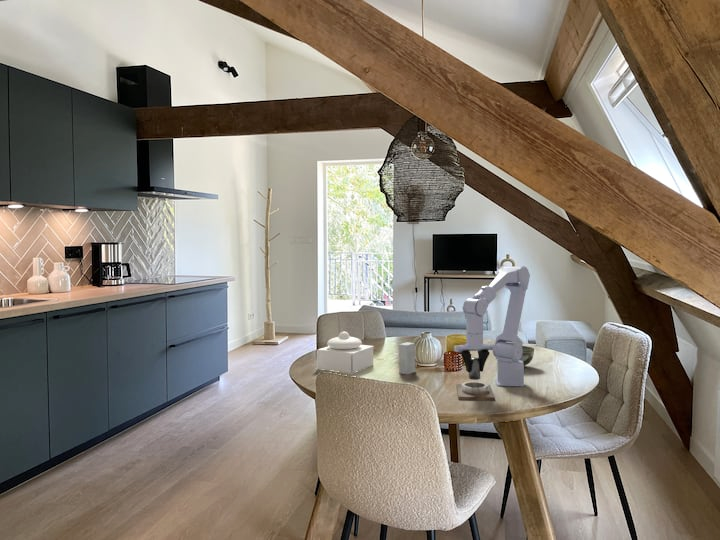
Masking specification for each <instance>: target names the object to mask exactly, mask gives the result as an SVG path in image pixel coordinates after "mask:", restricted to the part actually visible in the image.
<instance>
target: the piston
mask: <svg viewBox="0 0 720 540" xmlns="http://www.w3.org/2000/svg"><path fill="white" fill-rule="evenodd" d="M470 365H471V371H470V372H468V379H469V380H474V381H475V380H476V381H477V380H481V371H480V358H479V357H474V356H473V357H472V356H471V363H470Z"/></svg>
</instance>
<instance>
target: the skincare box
mask: <svg viewBox="0 0 720 540" xmlns="http://www.w3.org/2000/svg"><path fill="white" fill-rule="evenodd" d="M398 367H399V368H398V369H399V370H398V372H399V374H403V375H406V376H407V375H410V374H412V373H415V372H416V343H415V342H407V341H406V342H402V343H399V344H398Z"/></svg>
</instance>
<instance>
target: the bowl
mask: <svg viewBox="0 0 720 540" xmlns="http://www.w3.org/2000/svg"><path fill="white" fill-rule="evenodd" d="M522 350H523V353H522V357H521V358H520V359H519V360H521V361H523V364H524V369H525V368H526V366H527V365H529V364H530V363H531V362H532V361H533V358H534V353H535V348H534V347H531V346H527V345H522Z"/></svg>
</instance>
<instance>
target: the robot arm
mask: <svg viewBox="0 0 720 540" xmlns="http://www.w3.org/2000/svg"><path fill="white" fill-rule="evenodd" d="M530 278H531V274H530V272H529V269H528V267H526V266H524V265H523V266H510V265H509V266H508V265H502V266H501V267H500V268H499V269H497V276H495V277H494V279H493V280H492V281H491V282H490V284H489V285H482V286H481V288H480V289H479V290H478V292H477V293H475V294H474V295H473V296H472V297H469V298H467V299H466V300H465V301H464V303H463V306H462V311H463V313H464V318H465V321H466V323H465V324H466V326H465V327H466V334H465V335H466V337H465V338H466V340H465V341H466V343H464V344H460V345H459V344H458V345H454V346H453V351H454V352H455V353H460V355H461V358H462V359H463V362H464V366H465V371H466V373H469V372H470V371H471V365H470V363H471V357H472V353H471V352H477V354H478V355H477V358H480V373H481V372H484V368H485V365H486V362H487V360H488V357H489V356H490V351H492V354H493V357H495V360H497V365H496V366H497V369H496V370H497V373H496V374H497V377H496V378H497V379H494V381H495V383H496V384H497V387H498V386H499V387H525V383H524V382H525V368H524V364H523V361H521V360H519V359H520V358H521V357H522V353H523V350H522V346H523V344H524V343H523V340H522V339H521V338H520V337H519V336H518V334H519V328H520V323H521V318H522V312H523V308H524V302H525V297H526V292H527V290H528V288H529V282H530ZM504 286H505V288H506V289H507V290H509V292H510V294H509V295H510V296H509V299H508V305H507V311H506V314H505V320H504V325H503V330H502V333H500V334H499V335H497V336H496V337H495V338H496V339H495V341H494V343H484V315H485V314H486V313H487V310H488V307H489V305H490V304H491V303H492V302H493V301H494V300H495V299H496V297H497V292H498V291H500V290H501V289H502V288H503V287H504Z"/></svg>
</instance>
